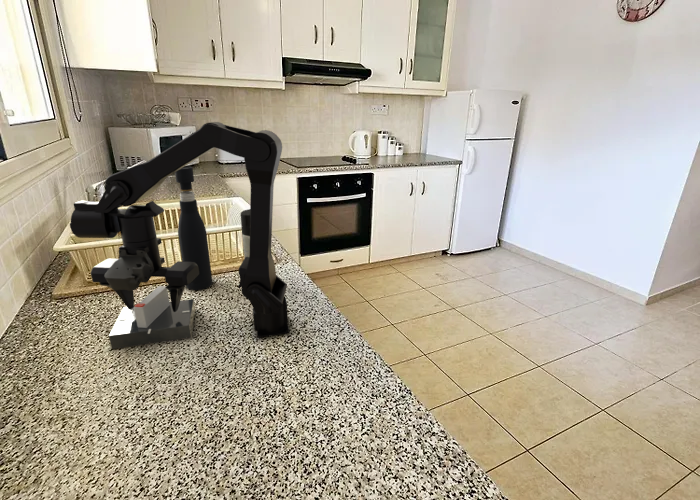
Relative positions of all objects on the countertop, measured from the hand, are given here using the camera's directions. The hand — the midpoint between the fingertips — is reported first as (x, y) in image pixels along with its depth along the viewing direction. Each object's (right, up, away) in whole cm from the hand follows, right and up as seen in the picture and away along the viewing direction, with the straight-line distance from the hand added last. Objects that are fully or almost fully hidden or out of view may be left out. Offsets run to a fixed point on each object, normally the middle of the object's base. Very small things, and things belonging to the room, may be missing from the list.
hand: (153, 309), depth 76 cm
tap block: (0, -4, +2) cm, 4 cm away
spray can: (+17, +3, +20) cm, 27 cm away
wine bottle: (+1, +3, +20) cm, 21 cm away
